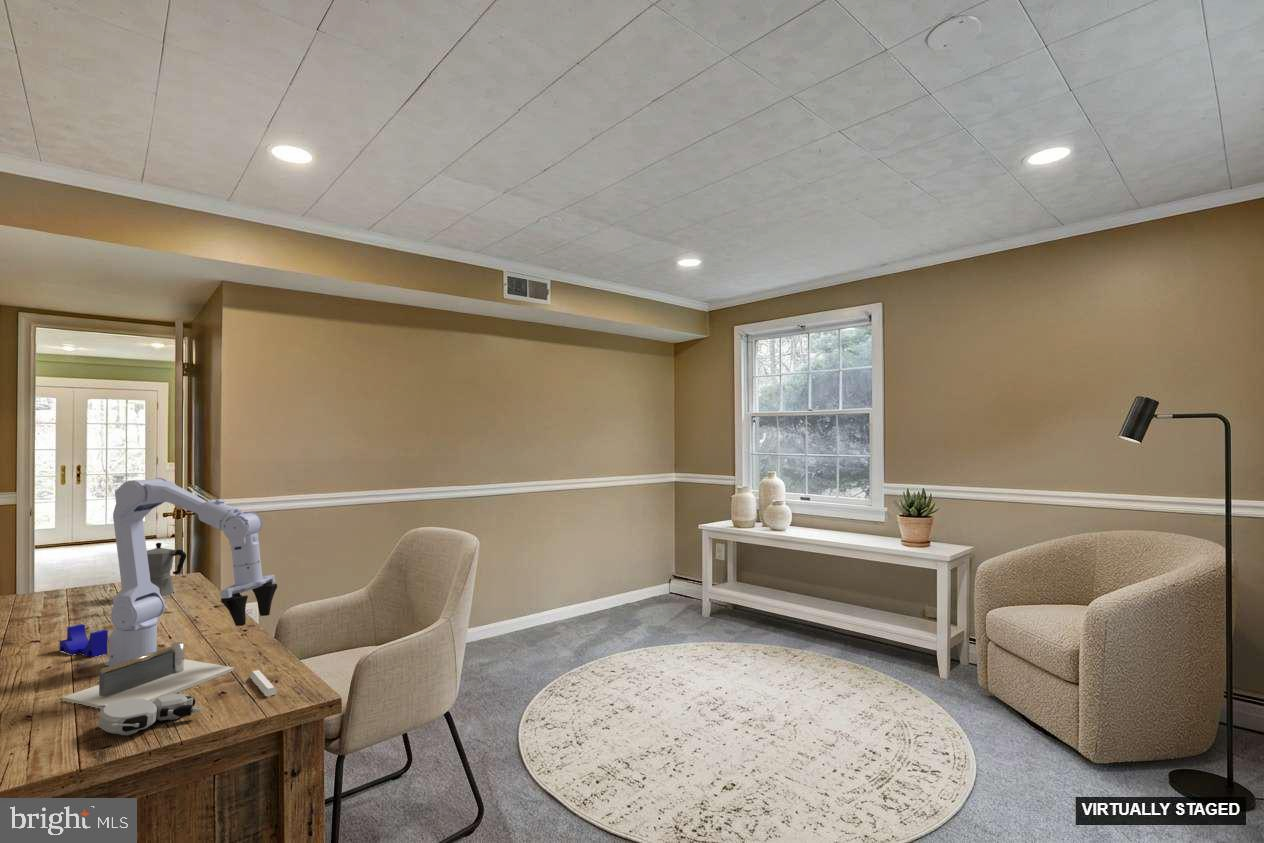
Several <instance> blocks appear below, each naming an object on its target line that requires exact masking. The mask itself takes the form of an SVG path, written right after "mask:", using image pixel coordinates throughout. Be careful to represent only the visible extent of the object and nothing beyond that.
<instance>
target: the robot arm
mask: <svg viewBox="0 0 1264 843" xmlns="http://www.w3.org/2000/svg"><path fill="white" fill-rule="evenodd" d="M114 497H115V505H114V508H113V512H112V519H113V527H114V533H115V534H114V535H115V543H116V552H117V558H118V560H117V561H118V568H119V576H120V583H121V588H120V589H119V591H118V592H117V593H116V595H115V596H114V597H113V598H112V604H113V605H112V609H111V612H110V620H111V623H112V625H114V627H115V628H114V629H113V630H112V632H111V633H110V635H109V640H108V641H109V642H108V661H106V662H105V663H104V666H106V667H108V666H112V665H115V664H118V663H121V662H124V661H127V660H131V659H134V658H137V657H140V656H143V655H146V654H150V653H153V652H156V651H158V648H157V647H158V646H157V644H158V643H157V641H158V622H159V621H160V617H161V616H162V615H163V614H164V612H165V611H166V610H165V609H166V601H165V598H162V596H161V594H160V590H159V587H157V586H156V585H154V584H152V583H151V581H150V573H149V565H148V557H147V551H148V549H147V544H146V543H147V542H146V534H145V526H144V518H145V517H147V515H148V514H149V513H150V512H151V511H152V510H153V509H155V508H156V507H157V508H158V506H161V505H162V504H164V503H168V504H171V505H174V506H177V507H180V508H181V509H184V510H187V511H188V512H189V511H190V512H192V513H194V514H197V516H198V520H199V521H200V522H202V523H204V524H207V525H209V526H211V527H213V528H216V529H218V530H220V531H222V532H223V534H224V536H225V537H226V538H227V539H228V540H229V546H230V547H231V557H232V558H231V559H232V568H233V577H234V578H233V580H234V584H233V585H230V586H228V587H226V588H224V589H221V590H220V595H221V596H220V602H221V603H222V605H224V607H225V608H226V609H227V611H228V612H229V614H230V616H231V618H232V621H233V623H234V626H236V627H241V626H245V625H246V618H247V617H246V606H247V601H248V598H249V596H248V595H247V594H246V595H242V593H245V592H248V591H252V592H253V593H254V596H255V600H256V602H257V608H258V613H259V615H260V617H265V616H266V617H267V616H270V614H271V607H272V603H273V598H274V596H275V593H276V591H277V589H278V583H276V575H275V574H267V575H264V576H263V571H262V570H263V568H262V562H261V560H262V559H261V549H260V541H259V539H260V538H259V533H260V531H261V530H262V527H263V521H262V519H261V517H260V516H259V515H258V514H257V513H256V512H255V511H246V512H244V511H243V509H242V508H239V507H237V508H235V507H233V506H231V505H228V504H226V503H225V502H226V501H225V500H223V499H222V498H219V499H218V498H217V499H211V500H205V499H203V498H202V497H200V496H198V495H196V494H194V493H192V492H191V491H189V490H187V489H184V488H183V487H181V486H179V485H177V484H176V483H175V482H174V481H171V480H167V479H166V478H163V477H155V478H151V479H150V478H148V479H139V480H135V479H133V480H126V481H125V482H123V483H122V484H121V485H120V486H119V487H118V488H117V489H116V490H115V491H114Z"/></svg>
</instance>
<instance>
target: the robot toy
mask: <svg viewBox="0 0 1264 843" xmlns="http://www.w3.org/2000/svg"><path fill="white" fill-rule="evenodd" d="M195 704H196V699H195V697H193V696H191V694H186V693H180V692H178V693H174V694H171V695H166V696H162V697H159V698H157V699H156V700H155V701H154V702H150V701H148V700H145V699H129V700H124V701H119V702H114V703H110V704H108V705H97V706H96V707H100V708H101V707H104V708H103V709H102V710H101V709H100V711H99V715H98V728H100V729H102V731H104V732H106V733H108V734H109V733H110V734H112V735H113V734H114V735H121V736H123V735H130V736H132V735H131V734H133V735H135V734H136V733H138V732H139V731H141V730H145V729H147V728H149V727H150V726H152V725H153V724H154V723H155V722H156V721H157V720H158V721H160V722H162V721H167V720H170V721H173V720H178V719H177V718H179V719H180V718H181V717H189V716H191V715H192V713H194V714H197V713H200V712H202V710H203V707H202V706H201V705H200V706H199V705H197V706H195ZM134 733H135V734H134Z"/></svg>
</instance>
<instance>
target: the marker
mask: <svg viewBox="0 0 1264 843" xmlns="http://www.w3.org/2000/svg"><path fill="white" fill-rule="evenodd" d="M249 678H250V680H251V679H252V680H251V681H252V682H253V683H254V684H255V685H256V686H258V687H257V688H258V689H259V690H260V691H261V693H262V694H263V693H264V694H263V695H264V696H265V697H266V696H269V695H274V694H276V695H277V694H278V690H277V688H276V687H275V686H274V685H273V684H272V683H271V682H270V680H268V678H267V677H266V676H265V675H264V674H263V673H262V672H261V670H259V669H256V670H252V671H251V673H250V674H249Z"/></svg>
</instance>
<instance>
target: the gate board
mask: <svg viewBox="0 0 1264 843" xmlns="http://www.w3.org/2000/svg"><path fill="white" fill-rule="evenodd" d="M234 670H235V667H233V666H228V665H221V664H216V663H208V662H204V661H198V660H191V659H187V658H184V670H183V671H182V672H178V673H169V674H166V675H163V676H161V677H158V678H155V679H152V680H149V681H146V682H144V683H141V684H138V685H135V686H132V687H130V688H127V689H124V690H121V691H118V692H115V693H113V694H110V695H107V696H99V684H97V685H94V686H92V687H88V688H86V689H82V690H79V691H76V692H74V693H73V692H72V693H70V694H68V695H64V696H62V697H61V701H62V700H65V701H69V702H74V703H79V704H83V705H87V706H91V707H90V708H92V707H96V706H97V705H108V704H110V703H114V702H119V701H124V700H129V699H145V700H148V701H150V702H154V701H155V700H156V699H157V698H159V697H162V696H166V695H171V694H174V693H180V692H182V691H185V690H188V689H191V688H194V687H195V686H198V685H200V684H203V683H206V682H208V681H211V680H214V679H217V678H220V677H221V675H222V676H224V675H227V674H229V672H230V673H232V672H234ZM231 671H232V672H231ZM69 702H68V703H69ZM74 703H73V704H74ZM83 705H82V706H83ZM87 706H86V707H87ZM97 708H100V707H96V708H95V709H97ZM103 708H104V707H101V708H100V709H99V710H101V709H103Z"/></svg>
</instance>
